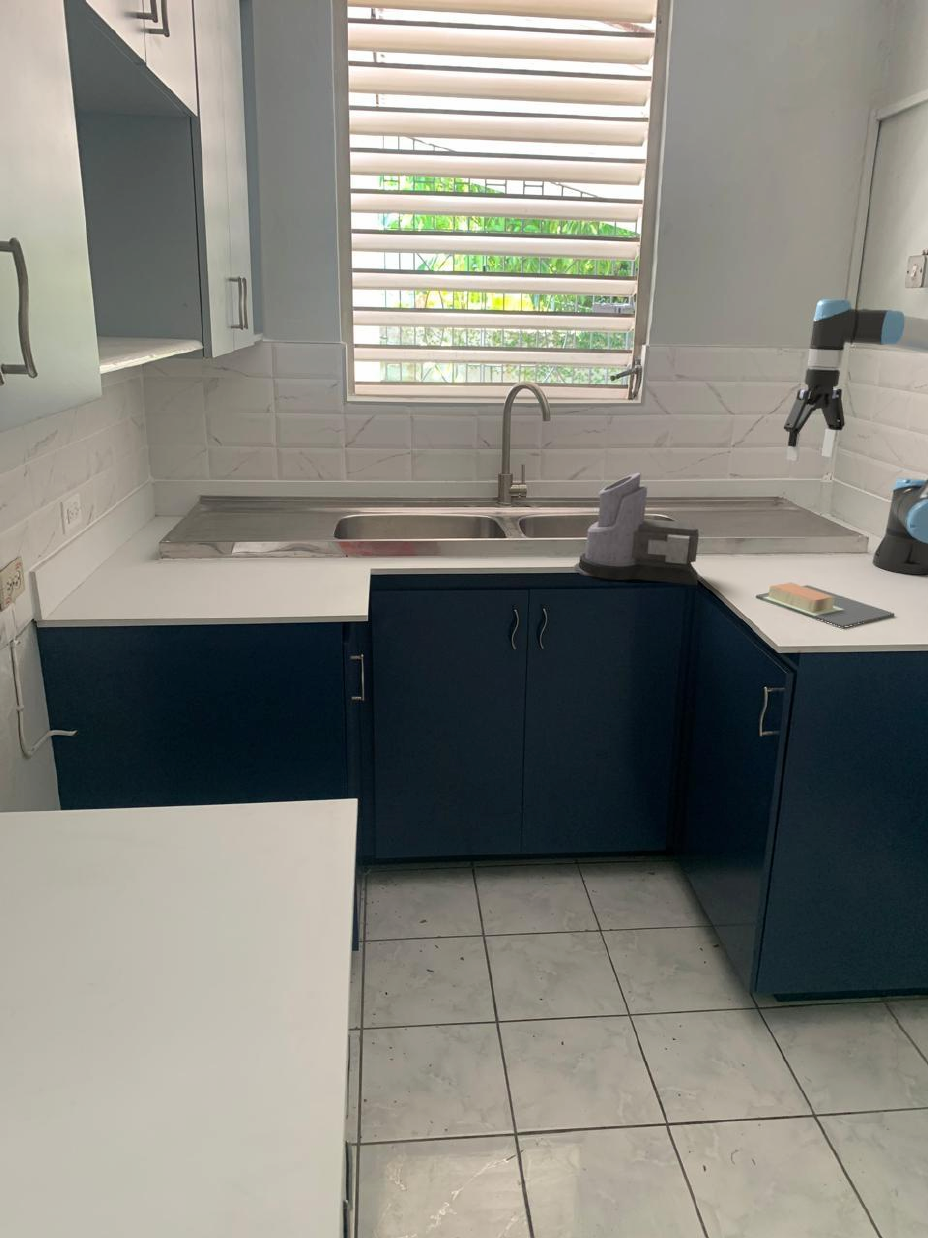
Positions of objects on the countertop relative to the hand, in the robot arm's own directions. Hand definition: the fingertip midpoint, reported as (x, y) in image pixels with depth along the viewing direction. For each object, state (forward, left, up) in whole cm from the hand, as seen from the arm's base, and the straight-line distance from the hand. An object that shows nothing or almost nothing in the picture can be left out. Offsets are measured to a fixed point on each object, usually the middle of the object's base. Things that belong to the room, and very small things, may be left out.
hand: (809, 458), depth 227 cm
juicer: (+39, -16, -29) cm, 51 cm away
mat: (+18, +24, -28) cm, 41 cm away
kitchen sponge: (+23, +20, -26) cm, 40 cm away
